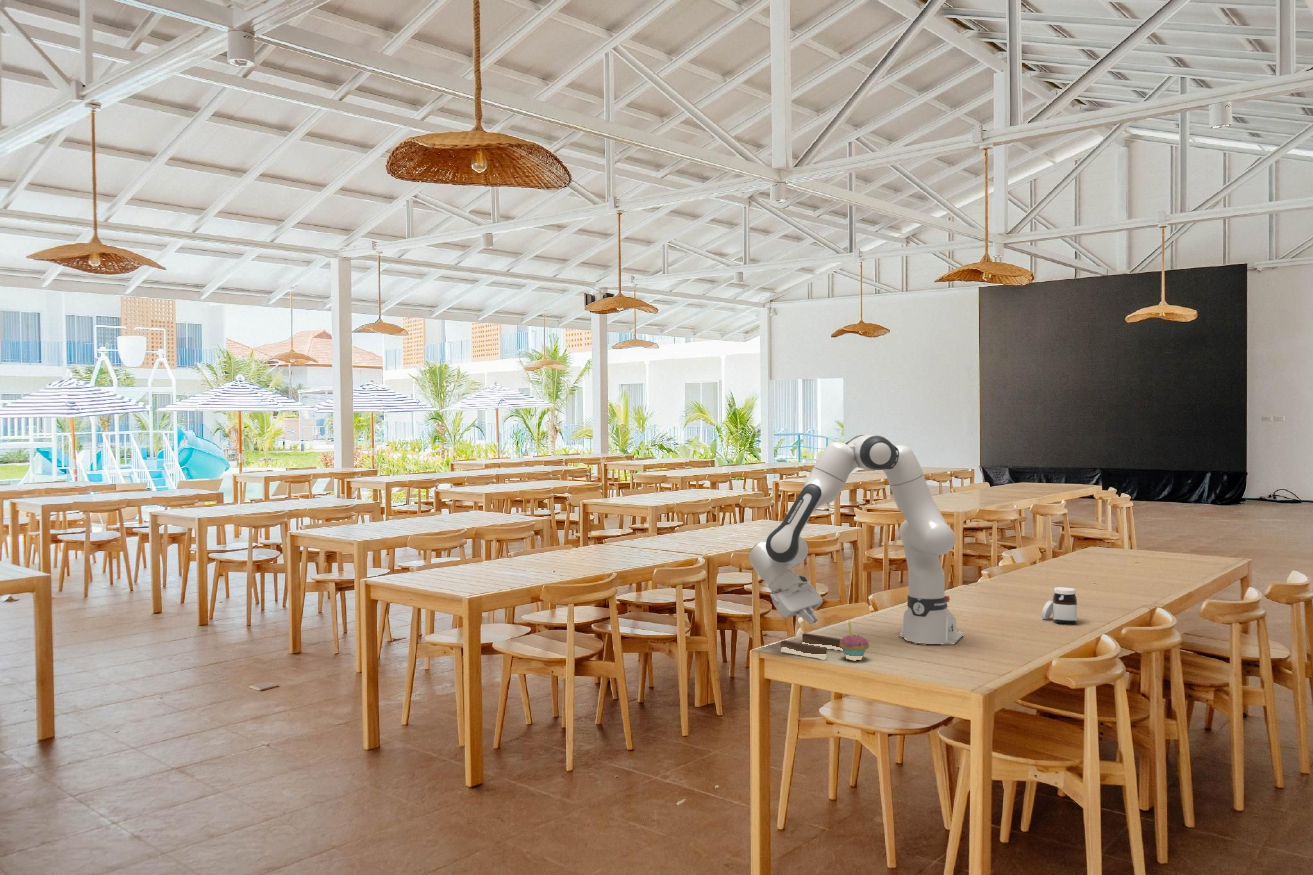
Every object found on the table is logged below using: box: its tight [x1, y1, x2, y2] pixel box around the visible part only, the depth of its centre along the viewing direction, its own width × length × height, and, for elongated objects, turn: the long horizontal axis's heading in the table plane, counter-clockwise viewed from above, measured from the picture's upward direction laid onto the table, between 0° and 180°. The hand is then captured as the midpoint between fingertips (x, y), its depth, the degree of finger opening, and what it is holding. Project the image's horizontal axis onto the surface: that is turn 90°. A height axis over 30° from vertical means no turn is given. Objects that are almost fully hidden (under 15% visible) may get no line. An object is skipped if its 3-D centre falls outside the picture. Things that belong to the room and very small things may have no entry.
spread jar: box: [1040, 586, 1078, 625], centre depth 335 cm, size 12×11×12 cm
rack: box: [780, 632, 842, 654], centre depth 296 cm, size 14×15×4 cm
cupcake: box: [840, 620, 870, 657], centre depth 286 cm, size 9×8×12 cm
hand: (814, 622), depth 296 cm, fingers closed
